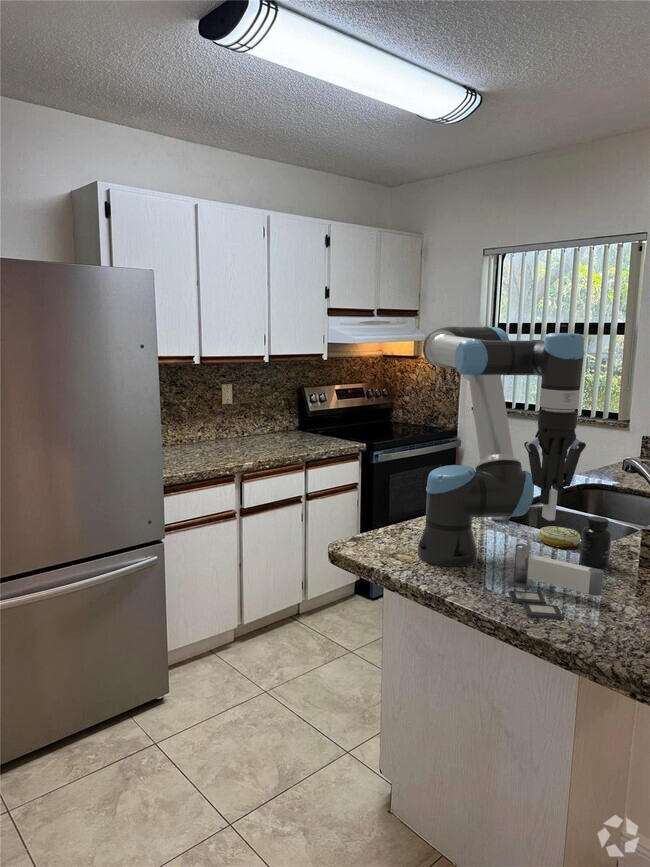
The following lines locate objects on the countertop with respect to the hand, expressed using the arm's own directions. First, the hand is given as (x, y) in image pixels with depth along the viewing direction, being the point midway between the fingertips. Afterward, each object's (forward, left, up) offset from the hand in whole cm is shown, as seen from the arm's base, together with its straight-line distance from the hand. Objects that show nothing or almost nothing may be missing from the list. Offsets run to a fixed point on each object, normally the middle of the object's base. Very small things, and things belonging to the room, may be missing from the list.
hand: (548, 518), depth 129 cm
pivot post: (-6, +7, -18) cm, 20 cm away
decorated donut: (-2, +41, -19) cm, 45 cm away
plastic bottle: (-21, +53, -19) cm, 60 cm away
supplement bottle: (+8, +28, -19) cm, 34 cm away
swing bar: (+4, +5, -16) cm, 18 cm away
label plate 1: (-3, -1, -18) cm, 19 cm away
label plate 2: (+1, -6, -18) cm, 20 cm away
